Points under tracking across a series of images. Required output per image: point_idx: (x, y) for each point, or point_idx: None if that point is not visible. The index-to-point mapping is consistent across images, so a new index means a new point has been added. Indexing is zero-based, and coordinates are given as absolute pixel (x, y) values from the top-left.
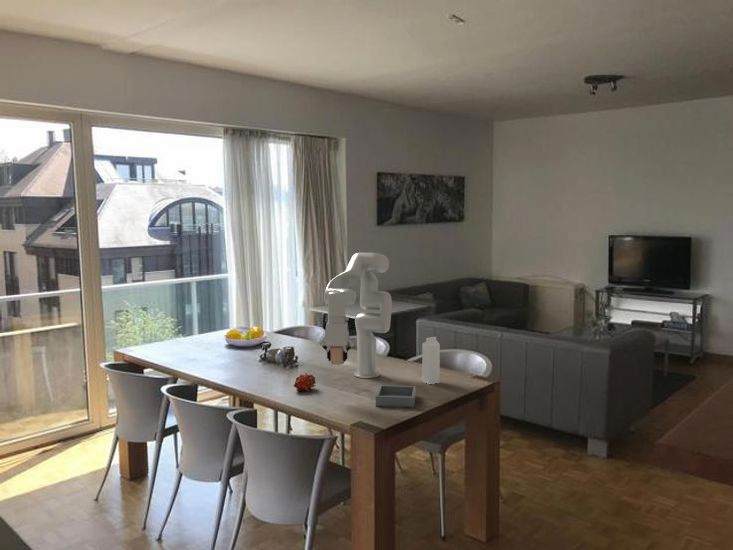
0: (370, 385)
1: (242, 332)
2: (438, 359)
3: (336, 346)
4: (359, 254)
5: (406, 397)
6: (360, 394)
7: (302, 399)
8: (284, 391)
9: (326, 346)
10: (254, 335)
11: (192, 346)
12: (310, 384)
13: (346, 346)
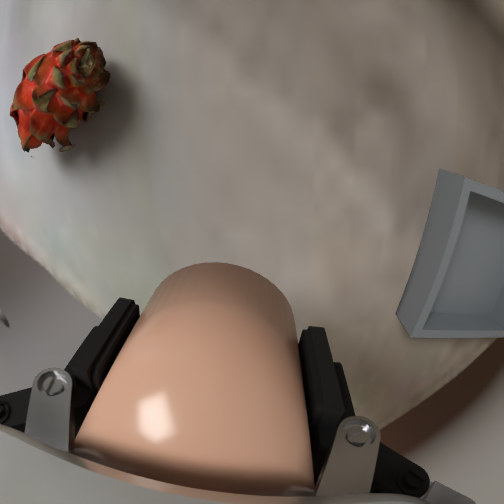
0: (401, 22)
1: None
2: None
3: (168, 476)
4: None
5: (491, 336)
6: (357, 152)
7: (89, 222)
8: (15, 126)
9: (19, 427)
10: None
11: None
12: (82, 110)
13: (360, 490)
